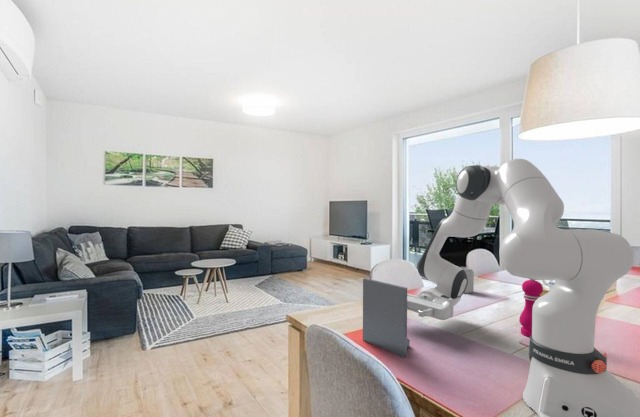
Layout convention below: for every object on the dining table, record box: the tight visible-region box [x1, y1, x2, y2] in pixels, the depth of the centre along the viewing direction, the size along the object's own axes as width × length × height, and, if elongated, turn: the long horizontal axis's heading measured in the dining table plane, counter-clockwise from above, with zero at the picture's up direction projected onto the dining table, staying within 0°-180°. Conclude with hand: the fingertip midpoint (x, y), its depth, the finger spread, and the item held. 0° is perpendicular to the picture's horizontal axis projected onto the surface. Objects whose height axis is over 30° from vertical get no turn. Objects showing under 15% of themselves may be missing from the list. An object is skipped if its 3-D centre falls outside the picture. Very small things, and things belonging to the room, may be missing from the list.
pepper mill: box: [518, 279, 544, 338], centre depth 113 cm, size 7×7×20 cm
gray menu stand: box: [362, 277, 411, 358], centre depth 105 cm, size 16×8×20 cm, turn 41°
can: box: [458, 266, 475, 294], centre depth 166 cm, size 8×8×12 cm
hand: (407, 310), depth 111 cm, fingers open, 8 cm apart
